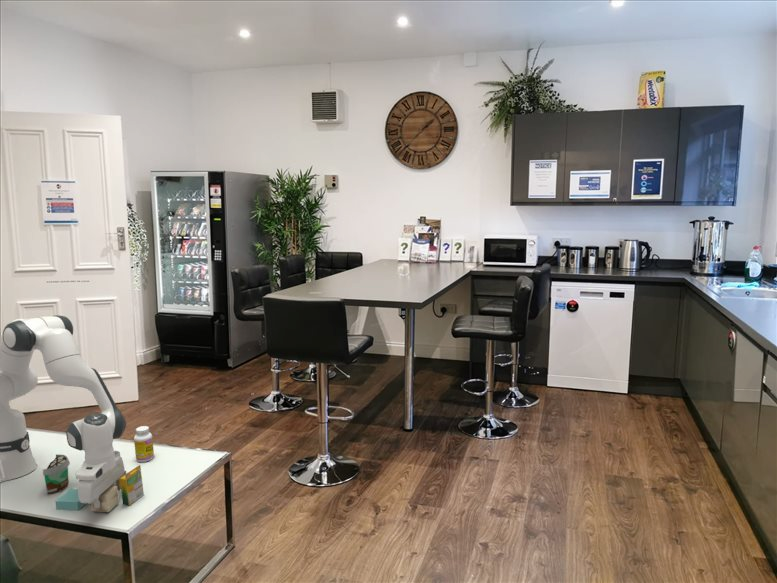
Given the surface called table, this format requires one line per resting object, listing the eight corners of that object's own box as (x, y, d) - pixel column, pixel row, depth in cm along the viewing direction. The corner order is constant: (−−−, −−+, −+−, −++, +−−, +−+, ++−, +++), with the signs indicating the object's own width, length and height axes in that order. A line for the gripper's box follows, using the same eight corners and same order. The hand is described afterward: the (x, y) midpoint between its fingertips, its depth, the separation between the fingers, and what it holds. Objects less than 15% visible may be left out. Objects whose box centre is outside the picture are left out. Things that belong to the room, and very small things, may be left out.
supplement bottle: (147, 463, 226) (144, 432, 224) (132, 462, 227) (129, 431, 225) (157, 455, 232) (154, 425, 230) (142, 454, 234) (139, 424, 231)
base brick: (56, 509, 195) (55, 501, 195) (71, 496, 203) (70, 488, 202) (78, 510, 194) (77, 502, 194) (93, 497, 202) (92, 489, 201)
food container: (64, 494, 204) (61, 468, 202) (46, 496, 203) (42, 470, 202) (77, 477, 216) (74, 452, 214) (59, 478, 215) (56, 453, 213)
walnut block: (106, 489, 207) (105, 477, 206) (114, 482, 212) (113, 470, 211) (119, 490, 207) (118, 477, 206) (127, 483, 212) (126, 470, 211)
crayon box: (137, 493, 204) (133, 463, 202) (144, 495, 203) (141, 464, 201) (122, 504, 197) (118, 473, 195) (129, 506, 196) (125, 474, 194)
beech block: (91, 511, 193) (89, 494, 191) (102, 501, 198) (100, 485, 197) (108, 512, 192) (106, 495, 191) (119, 502, 198) (117, 486, 196)
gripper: (110, 447, 202) (114, 484, 205) (71, 477, 183) (76, 517, 185) (127, 448, 202) (131, 485, 204) (90, 478, 182) (95, 518, 184)
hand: (104, 500), depth 195 cm, fingers closed on beech block, 6 cm apart
